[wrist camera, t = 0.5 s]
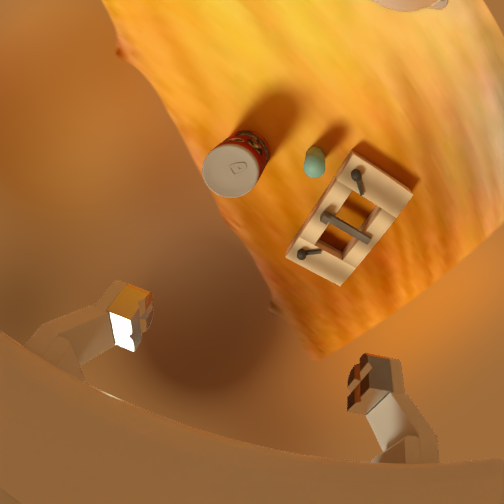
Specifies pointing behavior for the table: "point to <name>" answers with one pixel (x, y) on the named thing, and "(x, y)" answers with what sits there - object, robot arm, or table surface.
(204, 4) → the table surface
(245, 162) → the canned food
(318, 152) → the pale green rounded block
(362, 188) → the shelf
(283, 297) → the table surface
